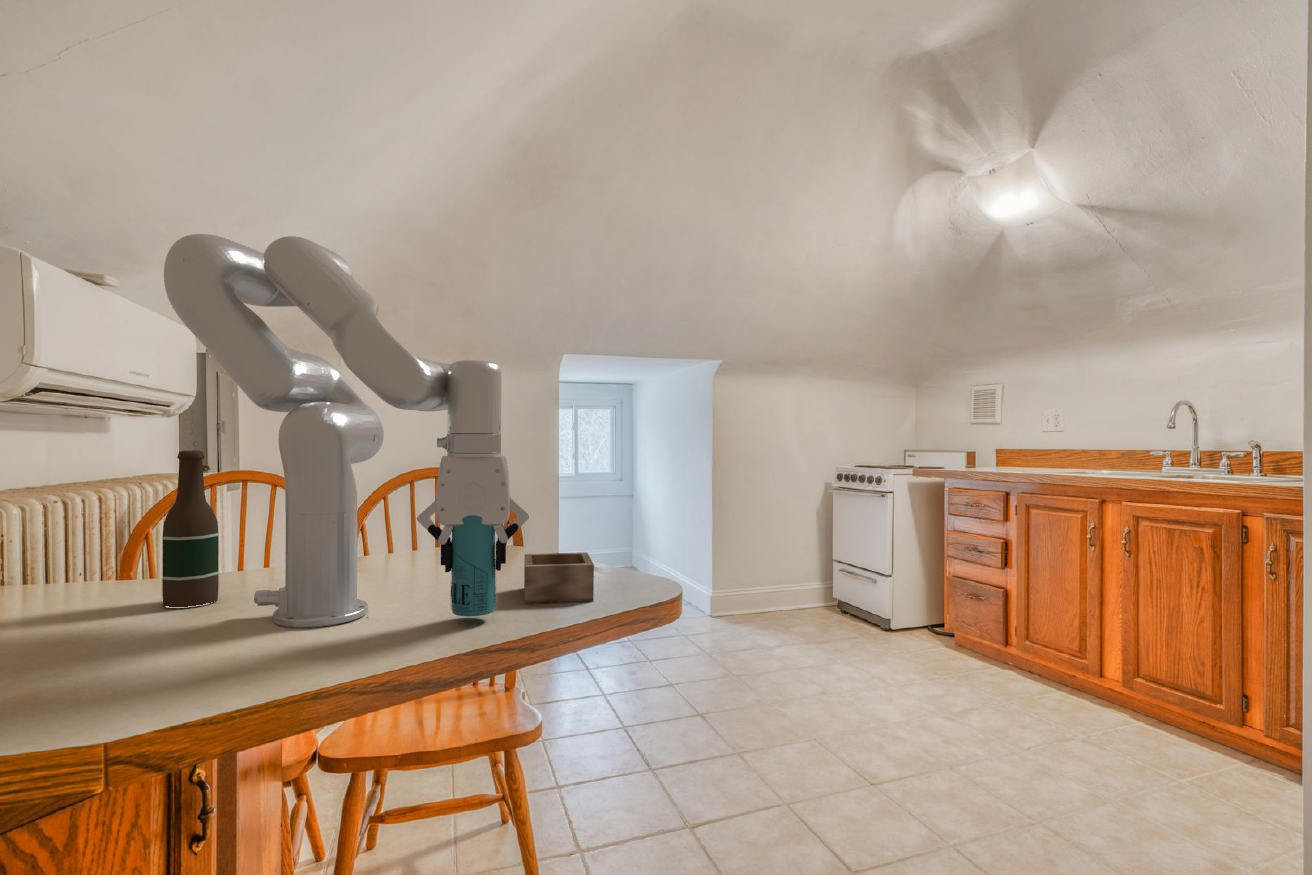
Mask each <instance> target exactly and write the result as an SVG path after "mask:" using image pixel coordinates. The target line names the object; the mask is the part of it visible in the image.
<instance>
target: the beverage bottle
mask: <svg viewBox="0 0 1312 875" xmlns="http://www.w3.org/2000/svg"><path fill="white" fill-rule="evenodd" d="M462 521H463V524H462V525H460V526H453V529H452V532H451V542H452V545H451V546H452V569H451V571H450V572H451V573H450V575H451V580H450V581H451V585H450V604H451V605H449V606H450V609H451V611H452V614H453V615H455V616H457V617H481V616H486V615H489V614H492V613H493V612H494V611H495V608H496V606H497V585H496V532H495V529H494V527H493V526H486V525H484V524H482V521H483V518H482V517H479V516H476V515H469V516H466V517H463V518H462Z"/></svg>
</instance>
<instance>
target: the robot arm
mask: <svg viewBox="0 0 1312 875" xmlns="http://www.w3.org/2000/svg"><path fill="white" fill-rule="evenodd" d="M163 281H164V282H163V284H164V288H165V292H166V296H167V299H168V300H169V303H170V305H171V306H172V309H173V310H174V312H175V313H176V315H177V316H178V318H179V320H181V321H182V323H183V324H184V325H185V327H186V328H188V330H189V331H190V332H191V333H192V334H193V335H194V336H195V337H196V339H198V341H199V342H200V343H201V344H202V345H203V346H204V347H205V349H207V350H208V352H209V353H210V354H211V355H212V356H213V358H215V360H216V362H217V363H218V364H219V365H220V366H221V367H222V369H223V370H224V372H226V373H227V374H228V376H229V377H230V378H231V379H232V381H234V382H235V384H236V385H237V386H238V387H239V388H240V389H241V391H242V392H243V393H244V394H245V395H246V397H248V399H249V400H250V401H251V402H252V403H253V404H254V405H255V406H257V407H259V408H260V409H263V410H266V411H268V412H269V411H270V412H277V413H278V412H279V413H287V414H286V415H285V416H284V418H283V419H282V421H281V424H280V426H279V429H278V430H279V431H278V449H279V454H280V459H281V464H282V469H283V479H284V491H285V492H284V495H285V496H284V500H285V501H284V505H285V506H284V507H285V558H284V559H285V561H284V562H285V566H284V567H285V570H284V571H285V572H284V573H285V580H284V582H285V585H284V586H283V587H279V589H277V590H276V589H275V590H271V589H261V590H260V589H259V590H255V592H254V594H253V595H254V596H253V597H254V598H253V602H254V604H256V605H257V606H259V607H262V606H263V607H265V606H275V607H276V608H277V609H275V610H274V612H272V621H273V623H275V624H276V625H278V624H279V625H278V626H283V627H287V628H288V627H289V628H318V627H326V626H334V625H337V624H343V623H347V622H351V621H355V620H358V619H359V618H362V617H363V616H364V617H365V615H366V614H367V613H368V612H369V604H368V602H366V601H365V600H362V599H359V598H358V491H357V489H358V488H357V484H356V483H357V482H356V478H355V475H354V471H353V468H352V464H354V465H355V464H359V463H362V462H367V461H368V460H370V459H372V458H373V457H375V456H376V455H377V454H378V453H379V451H380V449H381V447H382V445H383V444H384V443H383V442H384V437H385V436H384V435H385V433H384V432H385V431H384V427H383V424H382V421H381V419H380V418H379V416H378V414H377V413H376V411H375V410H374V409H373V408H372V406H371V405H370V404H369V403H368V402H367V401H366V400H365V398H363V396H362V395H361V394H360V393H359V391H358V390H357V389H355V387H354V386H353V384H351V383H350V382H349V380H348V379H347V378H346V377H345V376H344V374H342V373H341V371H340V370H339V369H338V368H337V367H336V366H335V365H333V364H332V363H331V362H329V361H328V360H326V359H325V358H323V357H321V356H319V355H315V354H313V353H309V352H303V351H299V350H295V349H293V348H290V347H288V346H287V345H286V344H285V343H284V342H283V341H282V340H281V339H280V338H279V337H278V336H277V335H276V334H275V333H274V332H273V331H272V329H271V328H270V327H269V325H267V323H266V322H265V321H264V320H263V319H262V318H261V317H260V316H259V315H258V314H257V313H256V312H255V311H253V310H252V309H251V308H249V307H248V306H247V305H251V306H257V307H265V308H268V307H272V308H275V307H276V308H277V307H278V308H280V307H281V308H283V307H297V308H298V309H300V311H301V312H302V313H303V314H305V315H306V316H307V318H309V320H311V321H312V322H313V323H314V324H315V325H316V326H317V327H318V328H319V329H320V330H321V331H323V333H324V334H326V335H327V337H329V338H330V340H331V342H332V344H333V347H334V349H335V351H336V352H337V354H338V356H339V357H340V359H341V361H342V362H343V364H344V365H345V366H346V367H347V368H348V370H350V372H352V373H353V375H354V376H355V377H357V378H358V379H359V380H360V381H361V382H362V383H363V384H364V385H365V386H366V387H367V388H369V390H370V391H372V393H374V394H375V396H377V397H378V398H379V399H380V400H382V401H383V402H385V403H386V404H388V405H389V406H392V407H394V408H395V409H399V410H405V411H418V412H440V411H447V434H446V435H445V436H443V437H441V438H440V437H437V439H436V447H437V448H442V449H444V450H445V451H446V452H447V453H446V454H447V455H442V456H441V457H440V463H439V467H438V468H439V469H438V474H437V476H438V477H437V485H436V486H437V488H436V499H435V500H434V501H433V502H432V503H431V504H430V505H429V506H428V507H427V508H425V509H424V510H423V511H422V512H421V513H420V514H419V515H417V517H416V521H417V522H418V523H419V524H420V525H421V526H422V527H423V528H424V529H425V530H426V531H427V532H428V533H429V534H430V535H431V536H432V537H433V538H434V539H435V540H436V541H437V542H438V544H440V566H444V572H445V573H450V572H452V571H451V570H452V546H451V545H452V537H450V536H452V529H453V526H460V525H462V524H463V521H462V518H463V517H466V516H469V515H476V516H479V517H482V518H483V521H482V524H484V525H486V526H493V527H494V529H495V535H496V536H497V541H496V540H495V560H496V561H495V571H496V572H497V571H498V572H500V571H501V570H502V564H504V565H505V564H507V542H508V541H509V540H510V539H511V537H513V535H515V533H517V532H518V530H519V529H520V528H522V526H523V525H525V523H526V522H527V521H528V520H529V518H530V515H529V513H528V512H527V511H526V510H525V509H523V508H522V507H521V506H520V505H519V504H518V503H517V502H516V501H515V500H514V499H512V497H511V491H510V474H509V466H508V461H507V456H506V455H502V371H501V370H502V369H501V367H500V366H499V365H498V364H497V363H495V362H492V361H488V360H487V361H486V360H479V359H478V360H475V359H470V360H469V359H466V360H465V359H464V360H462V359H461V360H457V361H454V362H452V363H451V364H450V363H444V362H437V361H434V360H430V359H428V358H424V357H419V356H416V355H414V354H413V353H412V352H410V351H409V350H408V349H407V348H406V347H405V346H404V345H403V344H402V343H401V342H400V341H398V340H397V339H396V337H394V336H393V335H392V334H391V333H390V332H389V331H388V329H386V327H384V325H383V324H382V323H381V322H380V320H379V319H378V313H379V304H378V301H377V300H376V298H374V297H373V295H371V294H370V293H369V292H368V291H367V290H366V289H365V288H363V287H362V286H361V285H360V284H359V283H358V282H357V281H356V280H355V277H354V273H353V271H352V268H351V266H350V265H349V263H348V261H346V260H345V259H344V257H342V255H340V254H338V253H336V252H334V251H333V250H330V249H329V248H326V247H324V246H322V245H320V244H318V243H317V242H314V241H312V240H310V239H308V238H304V237H301V236H293V235H292V236H291V235H289V236H282V237H279V238H277V239H275V240H273V241H272V242H271V243H269V245H268V246H267V247H266V249H265V250H264V253H263V252H261V251H259V250H256V249H254V248H251V247H249V246H247V245H244V244H241V243H238V242H235V240H231V239H227V238H225V237H223V236H218V235H215V234H209V233H195V234H194V233H193V234H188V235H186V236H182V237H181V238H179V239H177V240H176V241H174V243H173V244H172V245H171V247H170V248H169V250H168V252H167V253H166V257H165V261H164V265H163ZM511 512H512V513H513V514H514V515H515V517H516V518H515V519H514V520H513V521H512V522H511V523H510V524H509V525H508V526H507V527H505V525H504V524H505V523H507V522H508V521H509V519H510V514H511ZM435 513H436V514H435ZM434 514H435V516H436V521H437V522H438V524H439V525H441V526H443V528H442V529H441V528H440V526H439V525H437V524H436V523H435V522H434V521H433V520H432V519H431V517H432V516H433V515H434Z"/></svg>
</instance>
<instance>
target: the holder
mask: <svg viewBox="0 0 1312 875" xmlns="http://www.w3.org/2000/svg"><path fill="white" fill-rule="evenodd" d="M523 562H524V563H523V564H524V569H523V570H524V572H523V573H524V574H523V576H524V577H523V578H524V580H523V581H524V582H523V583H524V585H523V588H524V589H523V590H524V594H523V596H524V605H533V604H534V605H535V603H538V604H554V603H555V604H560V603H559V602H563V603H579V602H578V601H589V602H594V594H595V593H594V592H595V591H594V589H595V588H594V587H595V586H594V584H595V582H594V581H595V580H594V579H595V578H594V577H595V574H594V573H595V570H594V569H595V565H594V564H595V563H594V562H593V560H592V559H591V557H590V555H589V553H588V552H585V551H584V552H551V553H550V552H547V553H546V552H545V553H524V561H523Z"/></svg>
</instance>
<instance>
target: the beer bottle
mask: <svg viewBox="0 0 1312 875" xmlns="http://www.w3.org/2000/svg"><path fill="white" fill-rule="evenodd" d="M176 458H177V459H178V460H179V462H178V475H177V476H178V478H177V480H178V481H177V490H176V491H177V492H176V497H175V502H174V503H173V504H172V506H171V508H170V509H169V510H168V512H167V513H166V517H165V519H164V521H163V527H162V538H161V539H162V541H161V544H162V546H161V547H162V550H161V551H162V554H161V555H162V559H161V560H162V561H161V562H162V575H161V576H162V584H161V585H162V586H161V588H162V590H161V591H162V595H161V596H162V606H169V607H188V606H196V605H203V604H206V603H211V602H214V601H217V602H218V600H219V584H220V583H219V578H220V577H219V566H220V565H219V555H220V554H219V552H220V551H219V550H220V549H219V548H220V546H219V542H220V540H219V538H220V536H219V534H220V533H219V524H218V523H219V521H218V519H217V516H216V514H215V511H214V509H213V508H212V507H211V506H210V504H209V503H208V501H207V498H206V492H205V491H206V490H205V478H204V466H203V465H204V462H203V459H205V458H206V457H205V454H204V451H202V450H196V449H195V450H181V451H179V452H178V454H177V457H176Z"/></svg>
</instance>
